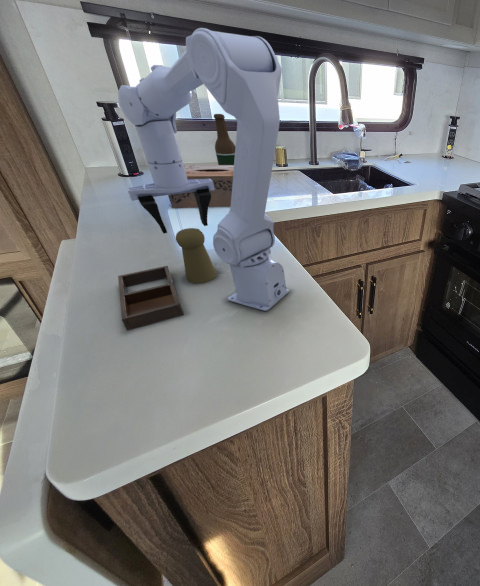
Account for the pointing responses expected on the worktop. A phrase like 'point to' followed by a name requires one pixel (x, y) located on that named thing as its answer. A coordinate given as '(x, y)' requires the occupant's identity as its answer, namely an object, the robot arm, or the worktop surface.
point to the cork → (195, 256)
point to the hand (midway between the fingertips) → (185, 227)
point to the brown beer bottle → (223, 143)
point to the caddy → (148, 298)
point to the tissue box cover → (219, 196)
